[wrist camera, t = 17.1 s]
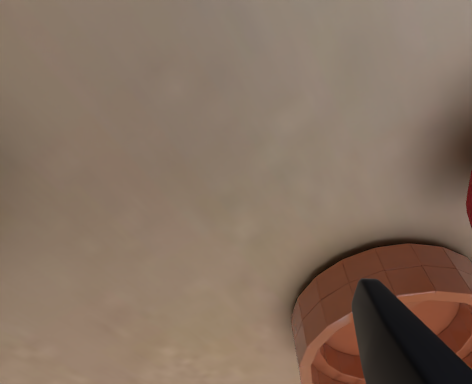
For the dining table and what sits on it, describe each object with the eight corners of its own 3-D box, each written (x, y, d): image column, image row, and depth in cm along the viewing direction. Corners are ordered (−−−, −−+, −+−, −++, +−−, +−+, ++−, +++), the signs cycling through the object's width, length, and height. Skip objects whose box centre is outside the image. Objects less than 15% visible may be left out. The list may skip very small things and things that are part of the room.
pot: (297, 370, 35) (306, 426, 31) (281, 253, 27) (291, 309, 23) (464, 351, 33) (494, 406, 30) (499, 223, 26) (547, 277, 22)
